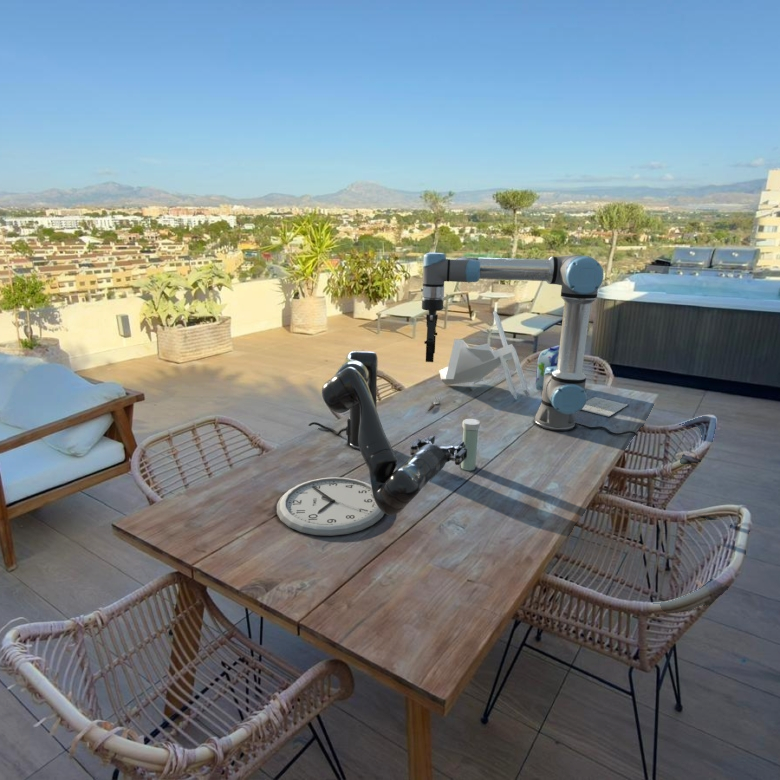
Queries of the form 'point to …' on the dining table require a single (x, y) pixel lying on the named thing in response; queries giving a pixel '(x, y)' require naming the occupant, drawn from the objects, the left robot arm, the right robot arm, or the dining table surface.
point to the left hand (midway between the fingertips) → (447, 441)
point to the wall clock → (329, 507)
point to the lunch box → (546, 364)
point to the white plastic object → (482, 362)
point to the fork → (434, 403)
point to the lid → (471, 424)
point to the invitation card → (603, 406)
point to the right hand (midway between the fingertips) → (430, 357)
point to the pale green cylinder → (470, 449)
